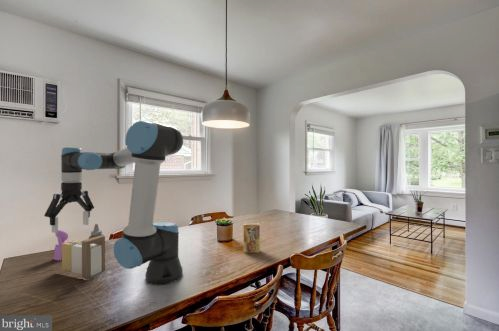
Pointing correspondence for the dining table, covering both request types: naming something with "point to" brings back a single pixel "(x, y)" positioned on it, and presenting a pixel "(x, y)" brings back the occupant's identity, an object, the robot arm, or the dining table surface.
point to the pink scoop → (60, 244)
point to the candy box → (251, 237)
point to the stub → (67, 255)
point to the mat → (98, 274)
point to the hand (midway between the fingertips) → (71, 228)
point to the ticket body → (88, 257)
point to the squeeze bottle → (96, 232)
